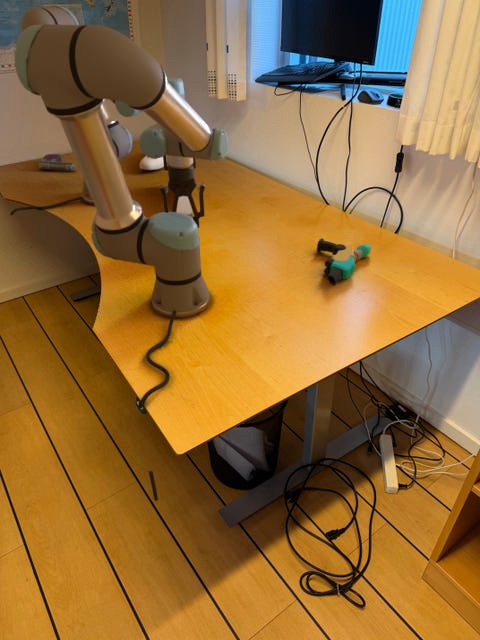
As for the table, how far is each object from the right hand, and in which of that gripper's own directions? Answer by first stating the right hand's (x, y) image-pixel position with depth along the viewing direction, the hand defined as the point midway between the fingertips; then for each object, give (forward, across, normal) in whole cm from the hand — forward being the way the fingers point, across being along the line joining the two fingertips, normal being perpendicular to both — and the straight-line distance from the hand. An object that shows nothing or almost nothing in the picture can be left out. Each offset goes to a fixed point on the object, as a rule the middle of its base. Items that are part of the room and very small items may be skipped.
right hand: (186, 237), depth 152 cm
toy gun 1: (+2, +53, -86) cm, 101 cm away
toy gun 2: (+2, -42, +22) cm, 48 cm away
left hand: (0, 0, -46) cm, 46 cm away
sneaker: (+2, +10, -82) cm, 82 cm away
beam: (+1, 0, -23) cm, 23 cm away
